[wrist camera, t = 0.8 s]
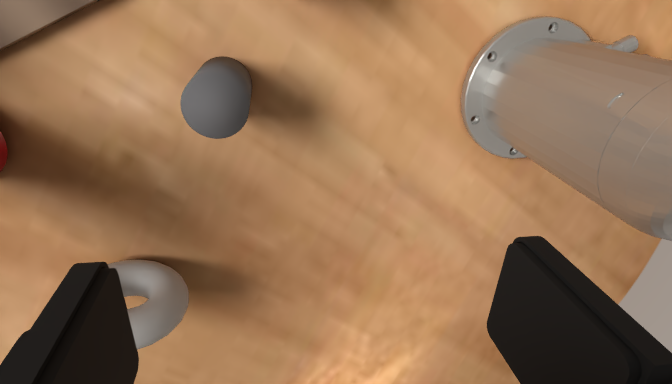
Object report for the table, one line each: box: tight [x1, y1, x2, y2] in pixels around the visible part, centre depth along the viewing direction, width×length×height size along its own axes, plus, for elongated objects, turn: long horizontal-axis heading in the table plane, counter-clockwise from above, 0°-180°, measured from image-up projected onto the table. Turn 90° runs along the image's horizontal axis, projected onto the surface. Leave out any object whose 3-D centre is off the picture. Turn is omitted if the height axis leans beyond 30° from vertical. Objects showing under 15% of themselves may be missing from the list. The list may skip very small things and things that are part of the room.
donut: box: [107, 260, 189, 349], centre depth 36 cm, size 10×3×10 cm, turn 81°
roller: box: [181, 57, 252, 139], centre depth 30 cm, size 4×4×7 cm
